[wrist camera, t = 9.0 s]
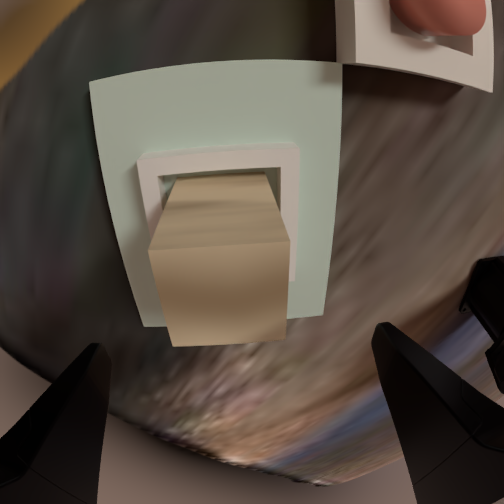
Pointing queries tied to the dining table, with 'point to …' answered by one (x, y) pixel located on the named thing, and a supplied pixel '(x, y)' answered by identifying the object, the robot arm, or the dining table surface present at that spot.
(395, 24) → the button housing
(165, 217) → the block
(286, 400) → the dining table surface
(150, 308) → the tray
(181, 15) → the dining table surface
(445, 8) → the button
